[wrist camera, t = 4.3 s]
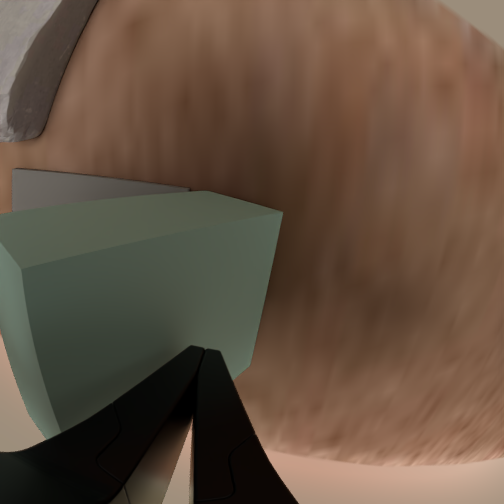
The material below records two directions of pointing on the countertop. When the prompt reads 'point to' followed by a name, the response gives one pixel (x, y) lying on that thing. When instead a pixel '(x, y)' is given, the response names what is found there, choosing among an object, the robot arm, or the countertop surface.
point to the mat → (75, 188)
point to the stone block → (35, 59)
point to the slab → (127, 293)
